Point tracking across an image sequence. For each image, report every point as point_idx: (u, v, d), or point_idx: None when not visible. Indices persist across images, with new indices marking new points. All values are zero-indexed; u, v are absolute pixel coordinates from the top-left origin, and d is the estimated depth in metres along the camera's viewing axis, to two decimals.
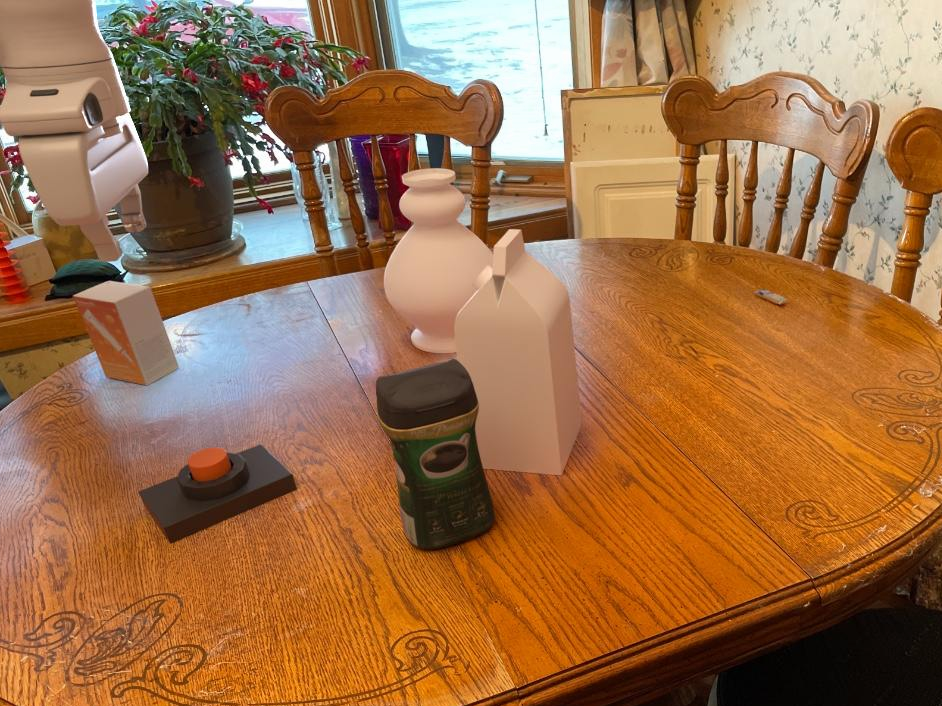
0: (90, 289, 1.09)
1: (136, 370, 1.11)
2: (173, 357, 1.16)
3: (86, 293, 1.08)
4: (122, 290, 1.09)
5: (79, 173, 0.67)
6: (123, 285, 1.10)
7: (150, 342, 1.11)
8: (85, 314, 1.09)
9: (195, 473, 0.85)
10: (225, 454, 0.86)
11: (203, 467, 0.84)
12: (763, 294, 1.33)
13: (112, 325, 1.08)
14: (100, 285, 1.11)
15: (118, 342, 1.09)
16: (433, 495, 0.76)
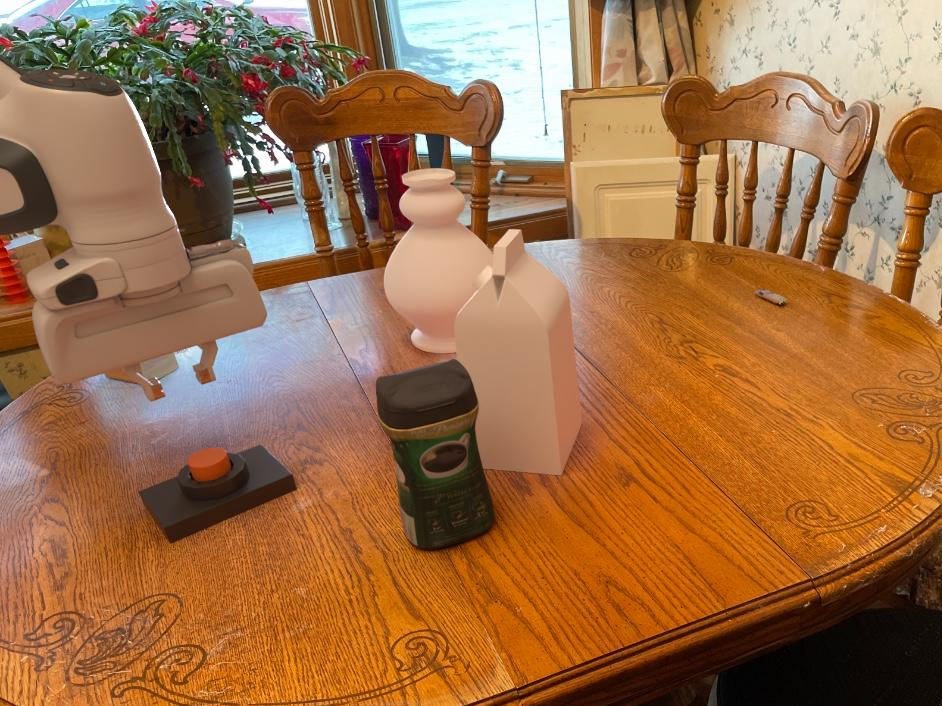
0: None
1: None
2: (173, 357, 1.16)
3: None
4: None
5: (43, 343, 0.70)
6: None
7: None
8: None
9: (195, 473, 0.85)
10: (225, 454, 0.86)
11: (203, 467, 0.84)
12: (763, 294, 1.33)
13: None
14: None
15: None
16: (433, 495, 0.76)
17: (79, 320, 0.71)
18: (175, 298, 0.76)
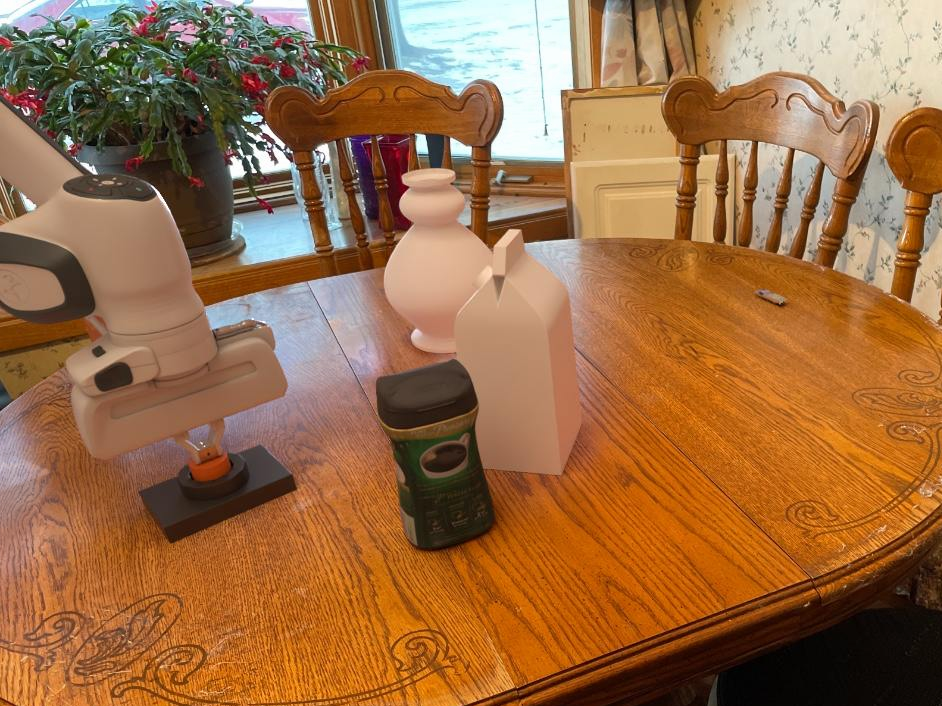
0: None
1: None
2: None
3: None
4: None
5: (82, 426, 0.74)
6: None
7: None
8: None
9: (195, 474, 0.85)
10: (225, 455, 0.86)
11: (204, 468, 0.84)
12: (763, 294, 1.33)
13: None
14: None
15: None
16: (433, 495, 0.76)
17: (115, 403, 0.75)
18: (203, 377, 0.80)
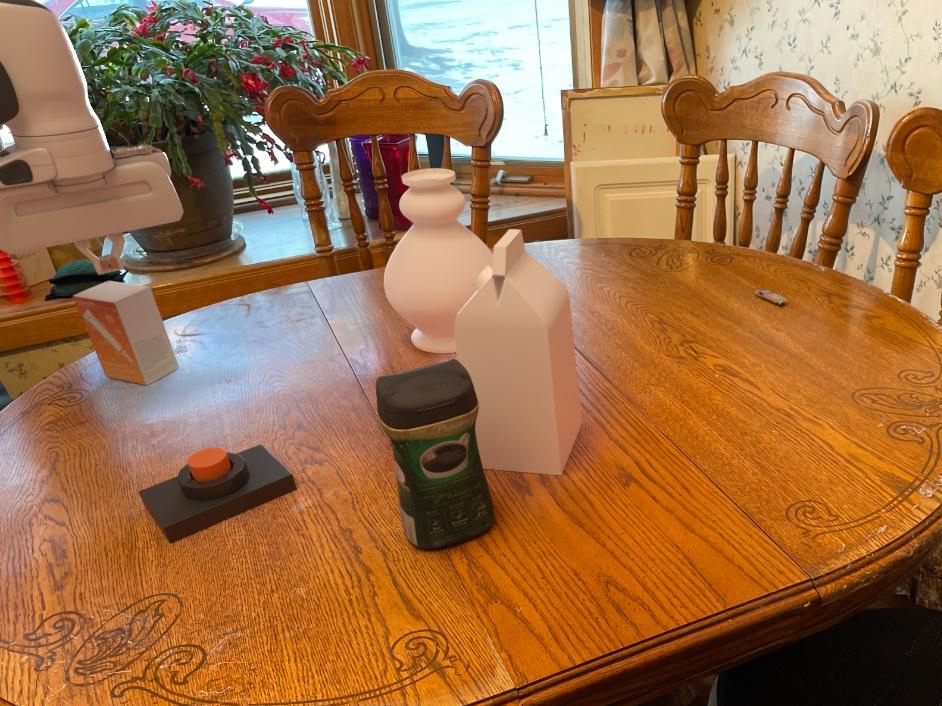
0: (90, 289, 1.09)
1: (136, 370, 1.11)
2: (173, 357, 1.16)
3: (86, 293, 1.08)
4: (122, 290, 1.09)
5: None
6: (123, 285, 1.10)
7: (150, 342, 1.11)
8: (85, 314, 1.09)
9: (195, 473, 0.85)
10: (225, 454, 0.86)
11: (203, 467, 0.84)
12: (763, 294, 1.33)
13: (112, 325, 1.08)
14: (100, 285, 1.11)
15: (118, 342, 1.09)
16: (433, 495, 0.76)
17: (18, 200, 0.87)
18: (101, 189, 0.92)
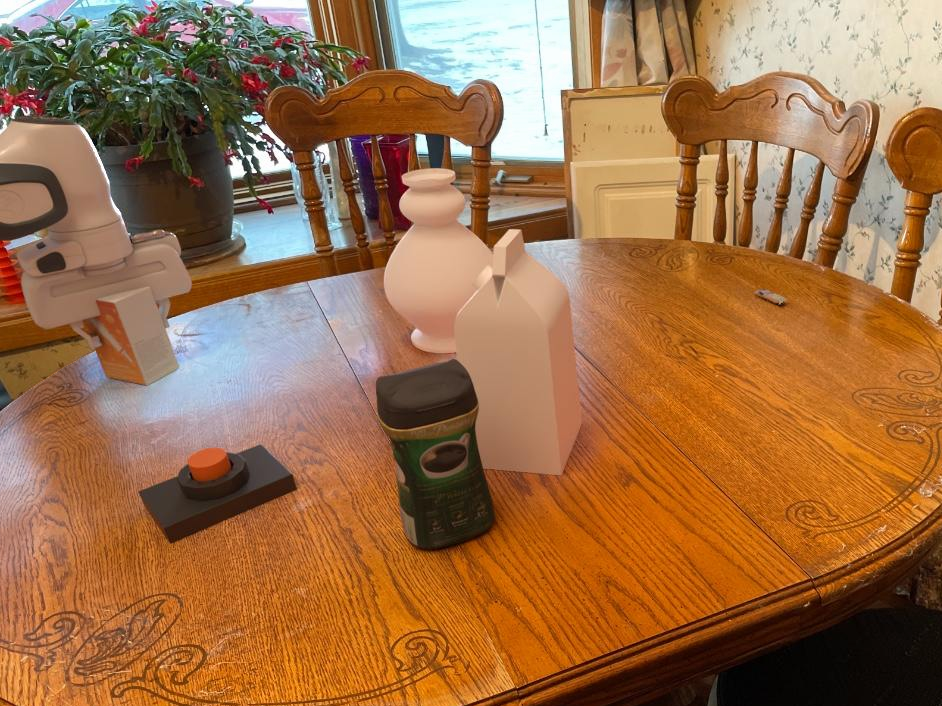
0: None
1: (136, 370, 1.11)
2: (173, 357, 1.16)
3: None
4: None
5: (28, 300, 1.01)
6: None
7: (150, 342, 1.12)
8: None
9: (195, 473, 0.85)
10: (225, 454, 0.86)
11: (203, 467, 0.84)
12: (763, 294, 1.33)
13: (112, 325, 1.08)
14: None
15: (118, 342, 1.09)
16: (433, 495, 0.76)
17: (53, 284, 1.02)
18: (122, 270, 1.07)
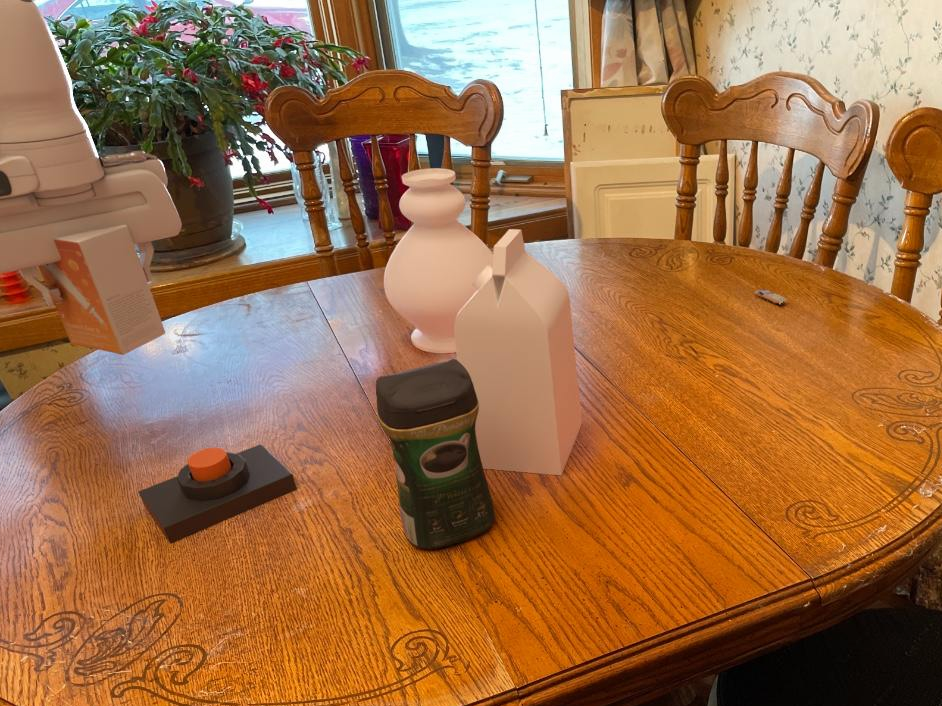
0: None
1: (109, 334, 0.86)
2: (158, 320, 0.90)
3: None
4: None
5: None
6: None
7: (127, 298, 0.86)
8: None
9: (195, 473, 0.85)
10: (225, 454, 0.86)
11: (203, 467, 0.84)
12: (763, 294, 1.33)
13: (76, 273, 0.82)
14: None
15: (85, 297, 0.84)
16: (433, 495, 0.76)
17: None
18: (89, 202, 0.82)
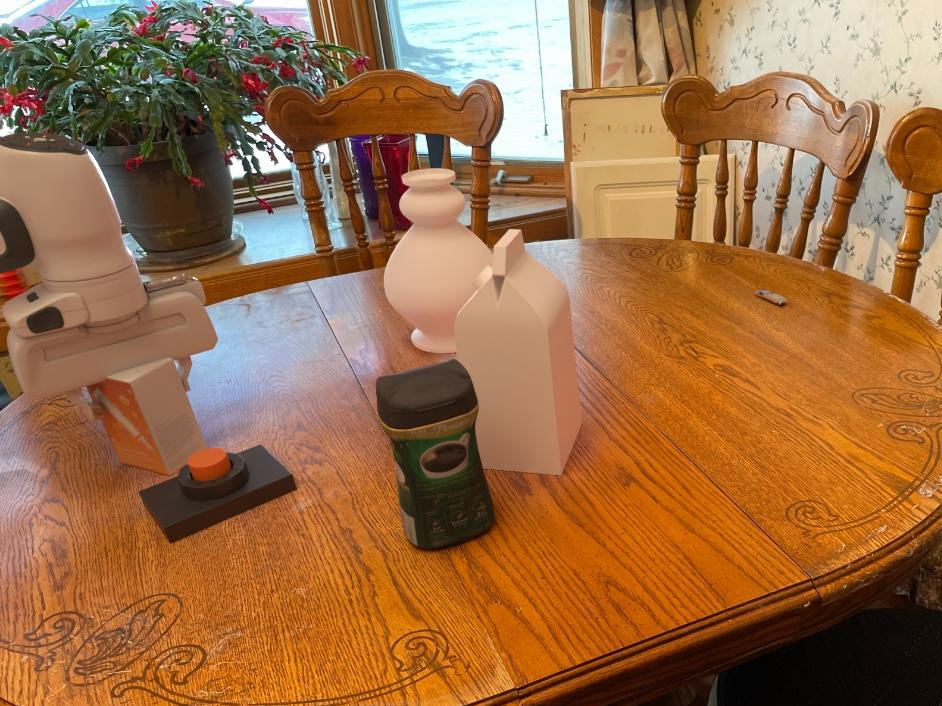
0: None
1: (157, 458, 0.91)
2: (201, 438, 0.96)
3: None
4: None
5: (16, 366, 0.80)
6: None
7: (173, 424, 0.92)
8: (94, 393, 0.89)
9: (195, 473, 0.85)
10: (225, 454, 0.86)
11: (203, 467, 0.84)
12: (763, 294, 1.33)
13: (127, 407, 0.88)
14: None
15: (135, 427, 0.90)
16: (433, 495, 0.76)
17: (48, 345, 0.82)
18: (134, 325, 0.87)
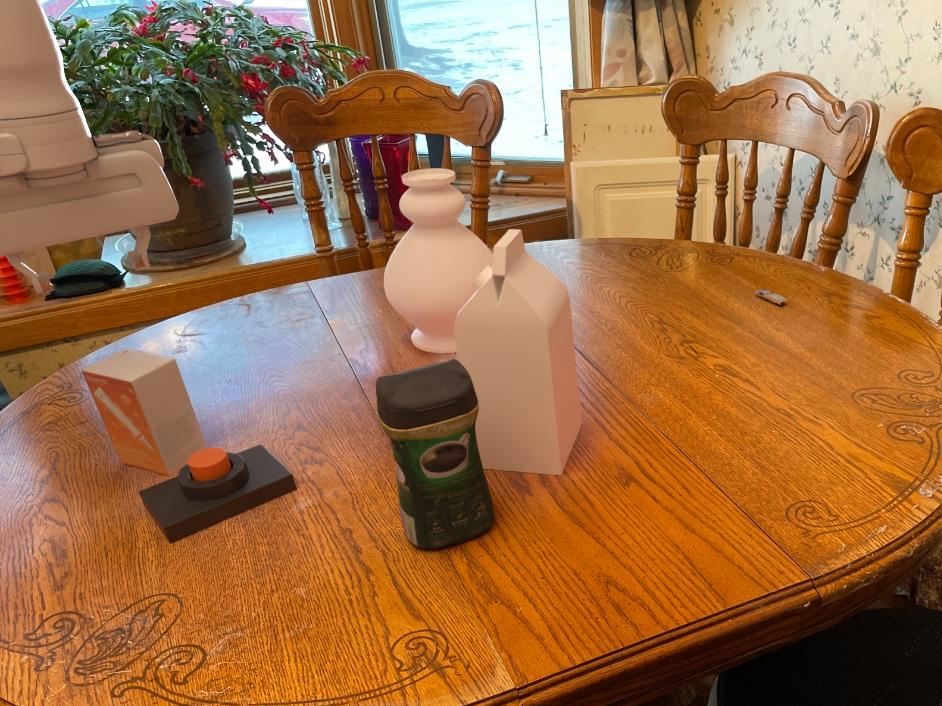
0: (103, 361, 0.90)
1: (157, 458, 0.91)
2: (201, 439, 0.96)
3: (98, 367, 0.88)
4: (141, 364, 0.89)
5: None
6: (142, 356, 0.91)
7: (174, 424, 0.92)
8: (96, 392, 0.89)
9: (195, 473, 0.85)
10: (225, 454, 0.86)
11: (203, 467, 0.84)
12: (763, 294, 1.33)
13: (128, 406, 0.88)
14: (115, 355, 0.91)
15: (136, 426, 0.90)
16: (433, 495, 0.76)
17: None
18: (82, 183, 0.78)
